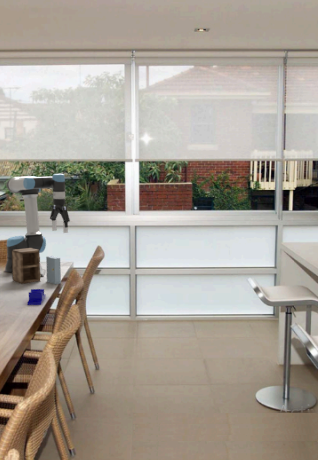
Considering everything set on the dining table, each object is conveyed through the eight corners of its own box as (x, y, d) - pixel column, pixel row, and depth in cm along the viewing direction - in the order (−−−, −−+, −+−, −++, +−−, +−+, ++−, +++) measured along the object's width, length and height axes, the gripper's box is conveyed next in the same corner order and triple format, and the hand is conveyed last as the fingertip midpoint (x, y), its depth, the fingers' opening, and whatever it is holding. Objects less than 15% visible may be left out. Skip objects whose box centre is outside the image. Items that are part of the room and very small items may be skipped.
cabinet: (12, 280, 379) (11, 249, 376) (31, 277, 388) (30, 247, 385) (21, 284, 370) (20, 252, 367) (41, 280, 379) (40, 249, 376)
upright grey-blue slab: (45, 281, 376) (45, 256, 374) (52, 280, 379) (51, 255, 377) (54, 284, 369) (53, 258, 367) (60, 283, 372) (60, 258, 370)
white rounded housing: (43, 276, 391) (38, 262, 389) (36, 279, 390) (31, 265, 389) (45, 271, 407) (40, 258, 406) (38, 274, 407) (33, 260, 405)
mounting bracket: (40, 305, 320) (40, 294, 319) (27, 305, 319) (27, 294, 319) (45, 297, 338) (45, 287, 337) (32, 297, 337) (32, 287, 336)
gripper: (44, 197, 385) (44, 230, 388) (64, 199, 366) (65, 234, 369) (54, 196, 390) (55, 229, 392) (74, 199, 371) (75, 233, 374)
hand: (60, 231), depth 381 cm, fingers open, 13 cm apart
